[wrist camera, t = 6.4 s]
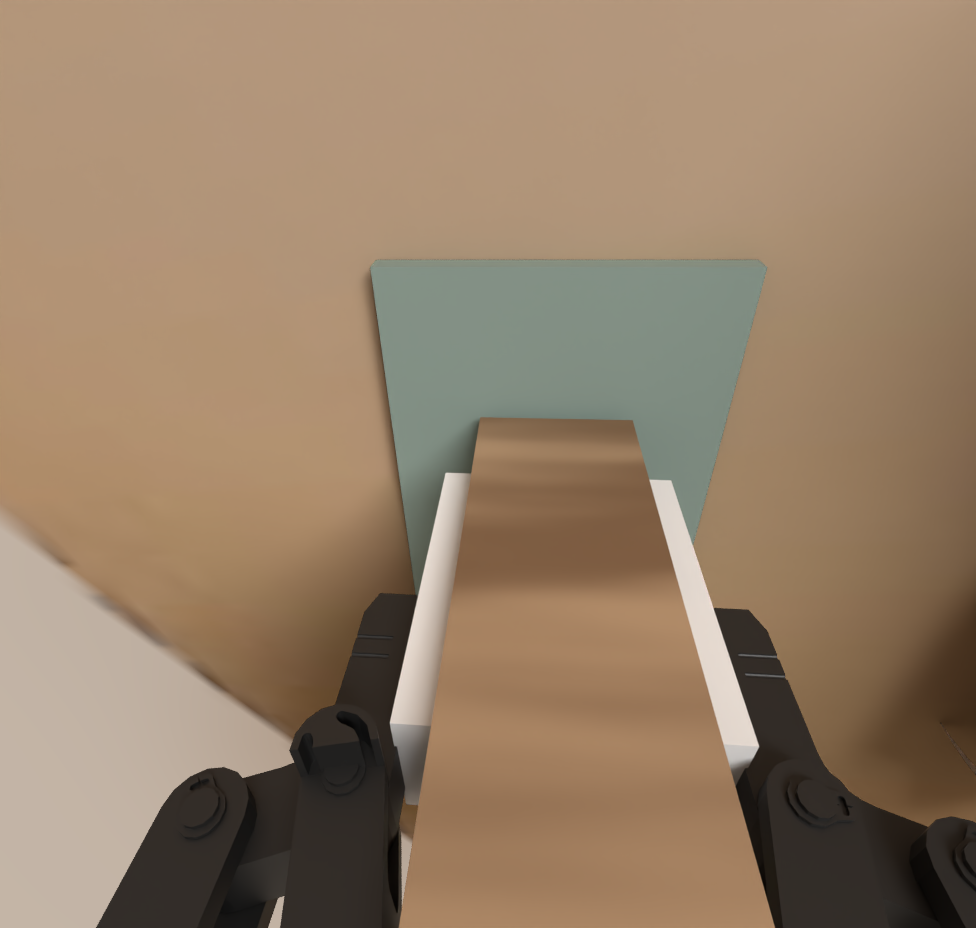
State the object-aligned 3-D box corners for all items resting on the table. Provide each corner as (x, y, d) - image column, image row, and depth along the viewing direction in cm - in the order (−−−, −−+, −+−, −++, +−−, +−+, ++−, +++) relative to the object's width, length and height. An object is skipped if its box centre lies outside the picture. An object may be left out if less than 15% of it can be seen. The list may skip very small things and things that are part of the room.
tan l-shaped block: (450, 416, 15) (284, 1089, 5) (663, 420, 14) (936, 1157, 5) (466, 657, 21) (406, 1175, 11) (617, 665, 20) (692, 1207, 11)
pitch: (376, 259, 13) (359, 279, 12) (758, 259, 13) (784, 280, 11) (445, 789, 29) (441, 823, 28) (619, 800, 28) (623, 835, 27)
